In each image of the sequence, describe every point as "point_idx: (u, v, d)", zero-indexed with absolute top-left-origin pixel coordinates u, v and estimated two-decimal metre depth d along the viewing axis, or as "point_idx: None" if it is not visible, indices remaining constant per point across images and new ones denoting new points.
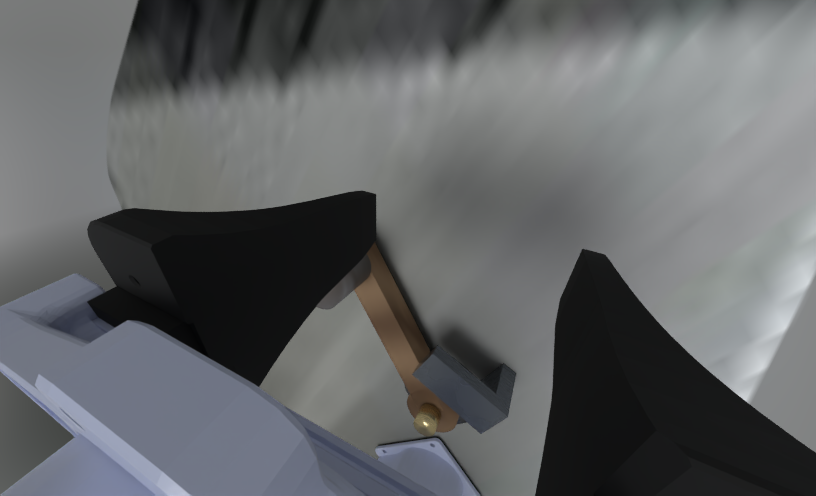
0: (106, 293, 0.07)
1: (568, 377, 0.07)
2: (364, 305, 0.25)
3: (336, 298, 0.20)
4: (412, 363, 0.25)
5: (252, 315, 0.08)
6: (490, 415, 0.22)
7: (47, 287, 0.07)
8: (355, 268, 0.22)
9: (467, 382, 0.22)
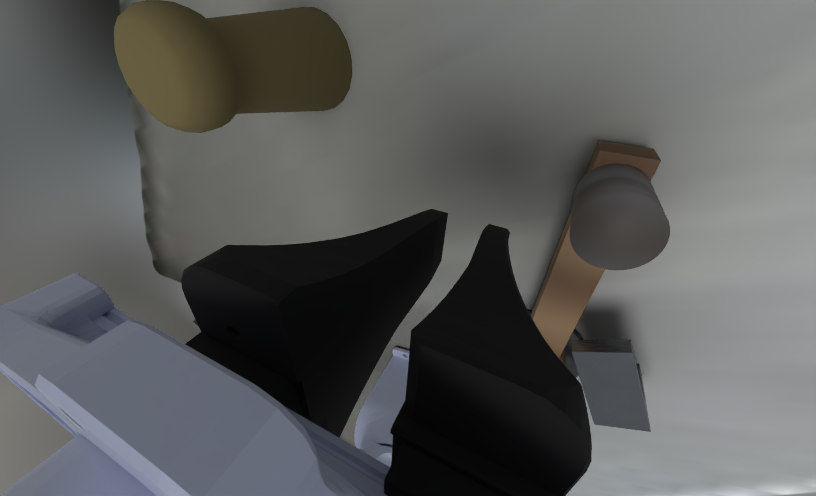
0: (192, 341, 0.06)
1: None
2: (563, 250, 0.17)
3: (633, 264, 0.12)
4: (560, 331, 0.20)
5: (345, 360, 0.07)
6: (629, 421, 0.20)
7: (47, 287, 0.07)
8: None
9: (641, 391, 0.18)
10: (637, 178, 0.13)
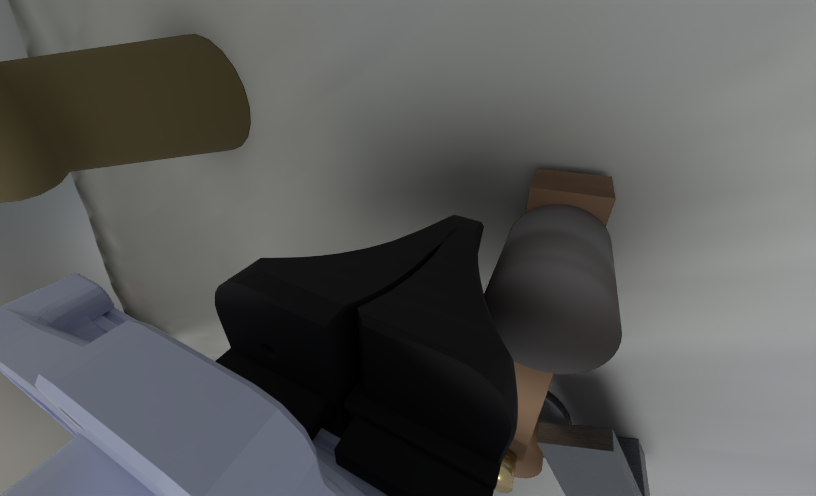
0: (222, 358, 0.06)
1: None
2: None
3: (577, 368, 0.08)
4: (526, 409, 0.16)
5: None
6: None
7: (47, 287, 0.07)
8: None
9: None
10: (576, 231, 0.09)
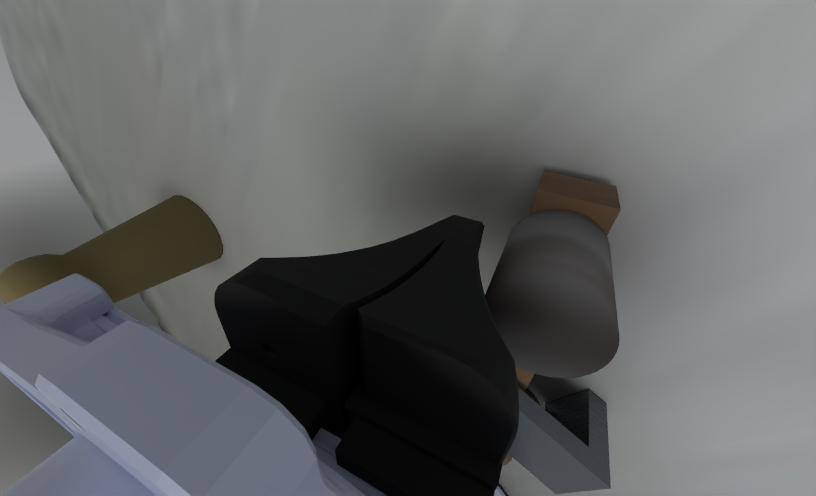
0: (221, 358, 0.06)
1: None
2: None
3: (569, 373, 0.08)
4: None
5: None
6: (579, 479, 0.14)
7: (47, 287, 0.07)
8: None
9: (550, 435, 0.14)
10: (581, 239, 0.09)
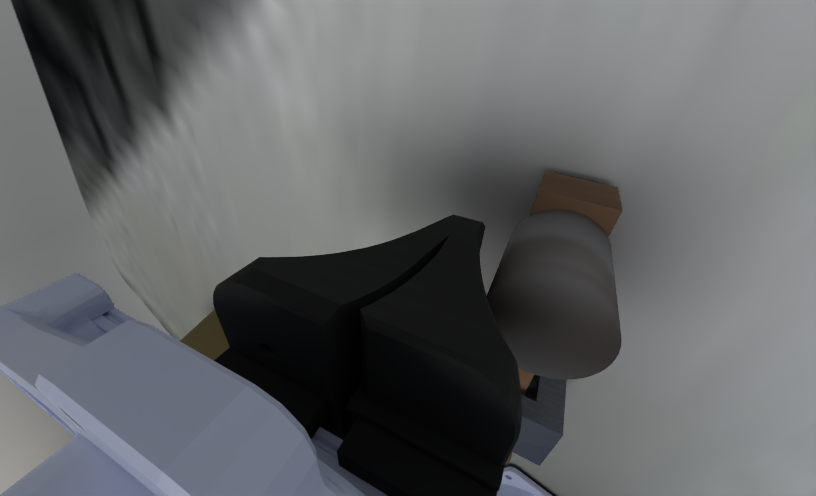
0: (220, 358, 0.06)
1: None
2: None
3: (570, 375, 0.08)
4: None
5: None
6: (538, 437, 0.14)
7: (47, 287, 0.07)
8: None
9: None
10: (583, 240, 0.09)
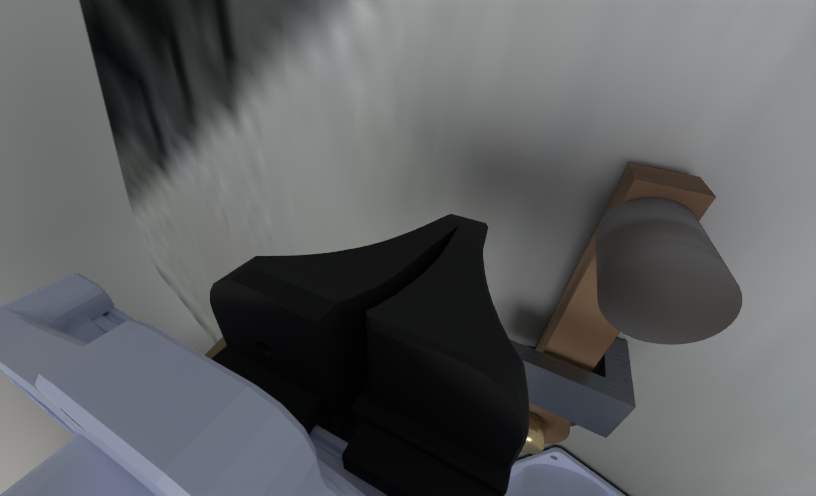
0: (217, 356, 0.06)
1: None
2: (579, 294, 0.14)
3: (682, 339, 0.09)
4: None
5: None
6: (609, 410, 0.15)
7: (47, 287, 0.07)
8: None
9: (558, 373, 0.15)
10: (689, 222, 0.10)
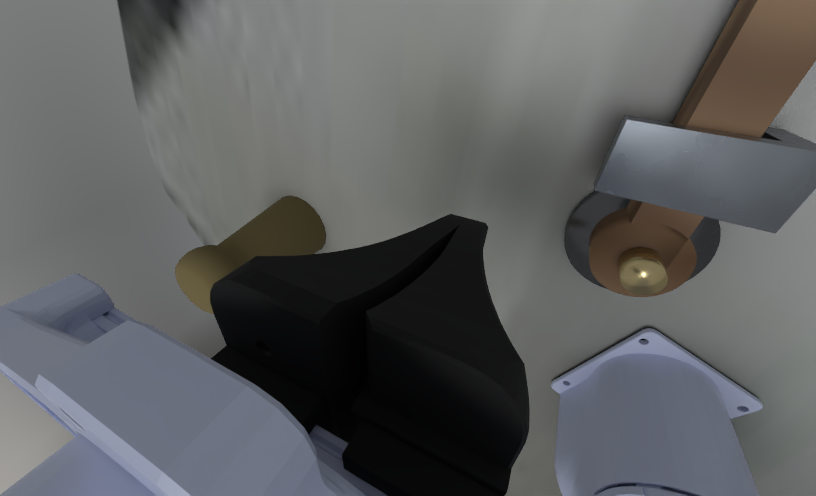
0: (217, 356, 0.06)
1: None
2: None
3: None
4: None
5: None
6: (793, 178, 0.11)
7: (47, 287, 0.07)
8: None
9: (719, 135, 0.11)
10: None
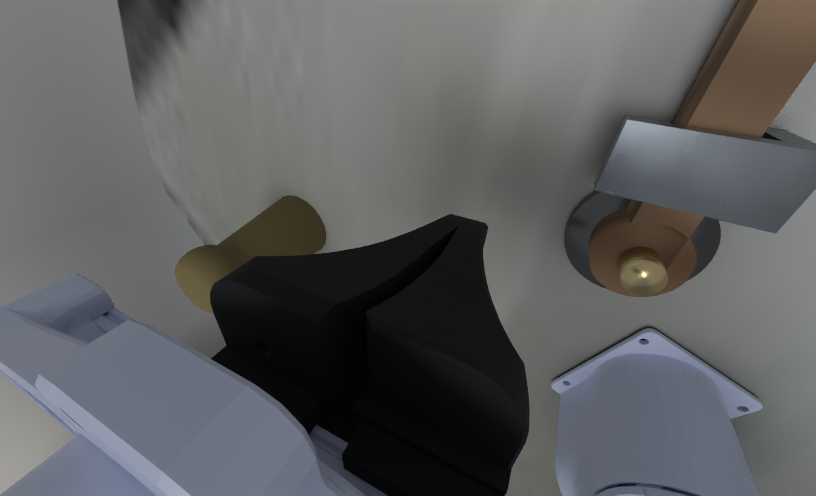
0: (217, 356, 0.06)
1: None
2: None
3: None
4: None
5: None
6: (794, 178, 0.11)
7: (47, 287, 0.07)
8: None
9: (720, 134, 0.11)
10: None
